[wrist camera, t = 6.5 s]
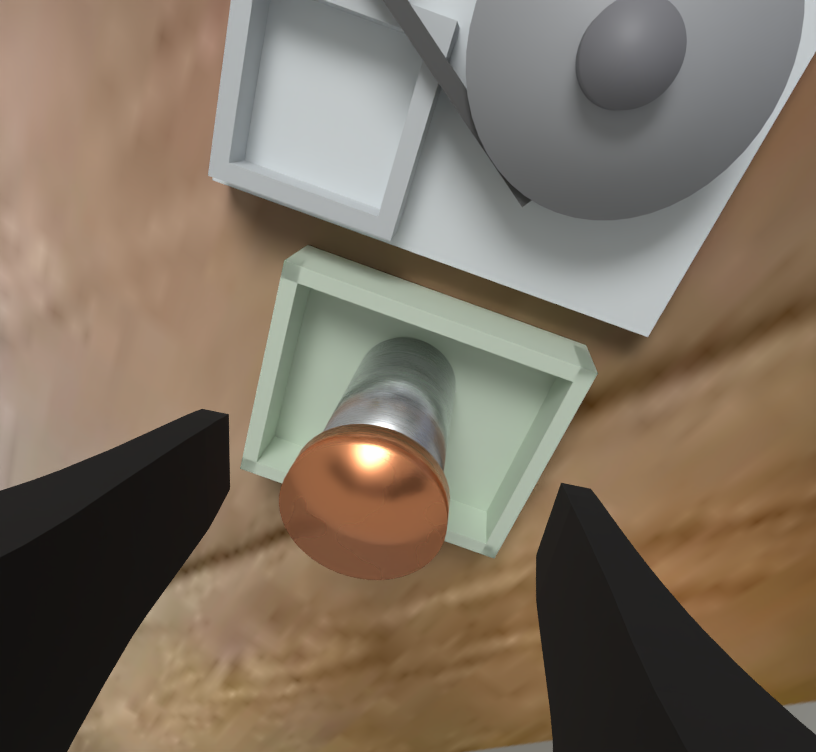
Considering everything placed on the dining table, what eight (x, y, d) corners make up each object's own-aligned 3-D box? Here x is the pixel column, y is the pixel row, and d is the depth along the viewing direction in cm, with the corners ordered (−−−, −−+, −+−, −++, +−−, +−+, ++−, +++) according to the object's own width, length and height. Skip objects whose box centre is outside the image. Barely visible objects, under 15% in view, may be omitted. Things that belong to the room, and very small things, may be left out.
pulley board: (868, -75, 14) (997, -143, 10) (639, 325, 19) (672, 371, 16) (296, -288, 14) (227, -431, 10) (227, 176, 19) (167, 189, 16)
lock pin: (463, 330, 20) (446, 448, 13) (463, 434, 22) (448, 586, 15) (345, 329, 21) (266, 440, 13) (355, 430, 23) (291, 572, 15)
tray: (585, 345, 20) (597, 373, 18) (494, 518, 24) (494, 558, 22) (307, 245, 20) (284, 260, 18) (263, 436, 24) (240, 468, 22)
